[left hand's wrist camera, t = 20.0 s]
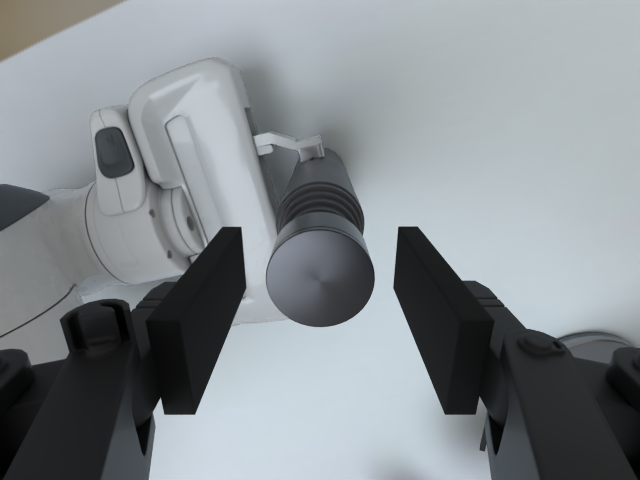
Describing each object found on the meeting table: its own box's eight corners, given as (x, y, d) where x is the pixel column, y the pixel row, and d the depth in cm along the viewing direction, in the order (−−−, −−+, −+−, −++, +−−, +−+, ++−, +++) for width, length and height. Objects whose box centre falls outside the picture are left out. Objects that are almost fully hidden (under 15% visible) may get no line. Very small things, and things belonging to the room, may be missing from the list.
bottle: (354, 176, 33) (407, 281, 13) (316, 206, 34) (312, 346, 14) (323, 136, 32) (329, 186, 12) (285, 169, 33) (231, 265, 13)
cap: (257, 273, 15) (247, 300, 13) (300, 193, 14) (296, 209, 11) (337, 311, 15) (340, 342, 13) (385, 239, 14) (395, 261, 12)
